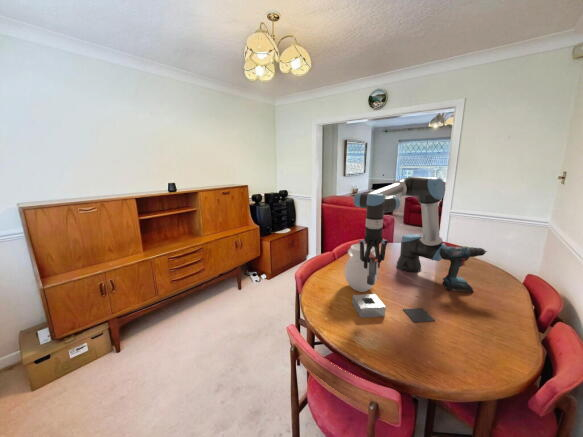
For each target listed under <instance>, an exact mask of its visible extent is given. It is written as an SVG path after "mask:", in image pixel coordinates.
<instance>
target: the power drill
mask: <svg viewBox="0 0 583 437" xmlns="http://www.w3.org/2000/svg"><path fill="white" fill-rule="evenodd" d="M487 252H488V251H487V250H486V249H484V248H482V247H472V246H471V247H469V246H465V245H461V246H452V245H448V246H447V247H442V248H441V249H440V256H441V258H442V259H441V260H445V261H450V264H449V268H448V272H447V275H446V276H444V277H443V278H442V280H443V281H442V282H441V284H442V286H443V287H444V288H445V289H446V290H447V291H449V292H450V291H451V292H463V293H473V292H474V289H473V287H472V286H471V284H470V283H469V282H468V281H467V280H466V279H465V278H464V277H462V276H461V275H460V276H458V274H459V270H460V268H461V267H462V266H463V267H464V266H466V264H465V262H466V261H468V260H469V258H476V257H480V256H481V257H482V256H484V255H485V254H487Z"/></svg>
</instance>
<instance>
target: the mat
mask: <svg viewBox="0 0 583 437" xmlns="http://www.w3.org/2000/svg"><path fill="white" fill-rule="evenodd" d="M402 311H403V312H404V313H405V314H406V315H407V316H408V318H409V319H410V320H411V321H412V322H413V323H414V324H415V323H427V322H428V323H429V322H436V319H435V318H434V317H433V316H432V315H431V314H430V313H429V312H427V310H425V309H424V308H423V307H416V308H415V307H414V308H412V307H411V308H402Z"/></svg>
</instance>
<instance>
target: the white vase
mask: <svg viewBox="0 0 583 437" xmlns="http://www.w3.org/2000/svg"><path fill="white" fill-rule="evenodd" d="M366 245H367V244H366V243H365V244H364V256H365V252H366ZM370 252H371V253H372V254H373V255H374V256H375V257H376V255H375V248H374V247H372V249H371V251H370ZM347 254H348V257H349V259H348V261H347V262H346V263H345V268H344V269H345V270H344V277H345V281H346V282H347V284H348V285H349V286H350V288H352V289H353V290H354V291H357V292H361V293H363V292H364V293H365V292H368V291H369V290H370V289H372V287H373V286H374V285H369V284H367V275H366V274H365V268H364V262H362V261H361V260H360V244H359V243H355V244H352V245H351V246H350V247H349V249H348V250H347ZM378 277H379V273H378V274H377V275H375V284H376V282H377V280H378Z"/></svg>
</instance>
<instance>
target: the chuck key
mask: <svg viewBox="0 0 583 437" xmlns="http://www.w3.org/2000/svg"><path fill="white" fill-rule="evenodd" d="M368 262H369V276H367V284H369V285H373V286H374V285H375V284H376V283H375V270H376V262H378V259H377V258H376V257H375V256H374V255H373V254H372V253H371V252H370V255H369V259H368Z"/></svg>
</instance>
